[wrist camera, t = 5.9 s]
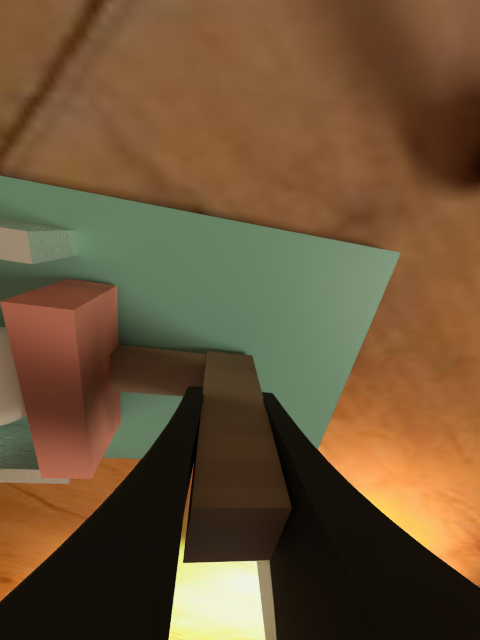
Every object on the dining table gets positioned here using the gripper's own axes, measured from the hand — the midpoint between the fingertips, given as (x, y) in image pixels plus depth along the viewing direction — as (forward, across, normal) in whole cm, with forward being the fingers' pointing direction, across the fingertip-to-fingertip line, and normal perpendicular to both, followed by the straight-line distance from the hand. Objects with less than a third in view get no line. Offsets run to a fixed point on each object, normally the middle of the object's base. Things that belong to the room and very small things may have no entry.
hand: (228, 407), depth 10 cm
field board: (+4, +3, 0) cm, 5 cm away
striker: (+3, +3, 0) cm, 4 cm away
